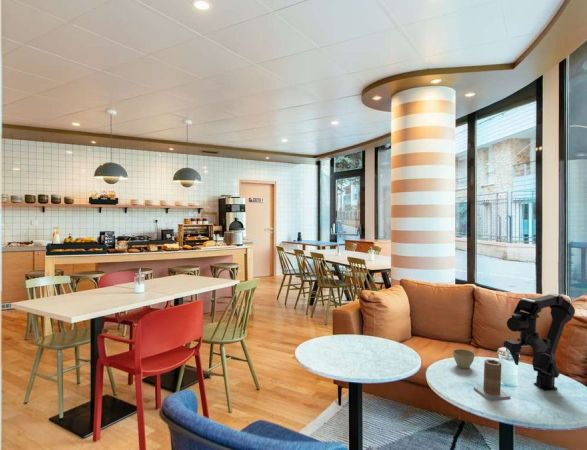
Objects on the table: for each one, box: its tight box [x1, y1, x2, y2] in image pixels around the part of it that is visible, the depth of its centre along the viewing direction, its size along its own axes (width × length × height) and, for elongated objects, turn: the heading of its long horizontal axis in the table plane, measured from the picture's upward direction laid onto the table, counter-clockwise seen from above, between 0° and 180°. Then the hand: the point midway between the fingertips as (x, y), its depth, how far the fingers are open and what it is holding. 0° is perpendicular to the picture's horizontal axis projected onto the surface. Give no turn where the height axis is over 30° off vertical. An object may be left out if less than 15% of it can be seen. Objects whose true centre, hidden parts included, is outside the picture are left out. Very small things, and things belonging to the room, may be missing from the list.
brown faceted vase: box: [483, 358, 502, 395], centre depth 168 cm, size 6×6×13 cm
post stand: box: [473, 385, 511, 401], centre depth 168 cm, size 10×10×5 cm
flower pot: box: [452, 348, 476, 370], centre depth 195 cm, size 10×10×7 cm
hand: (526, 364), depth 167 cm, fingers open, 9 cm apart
